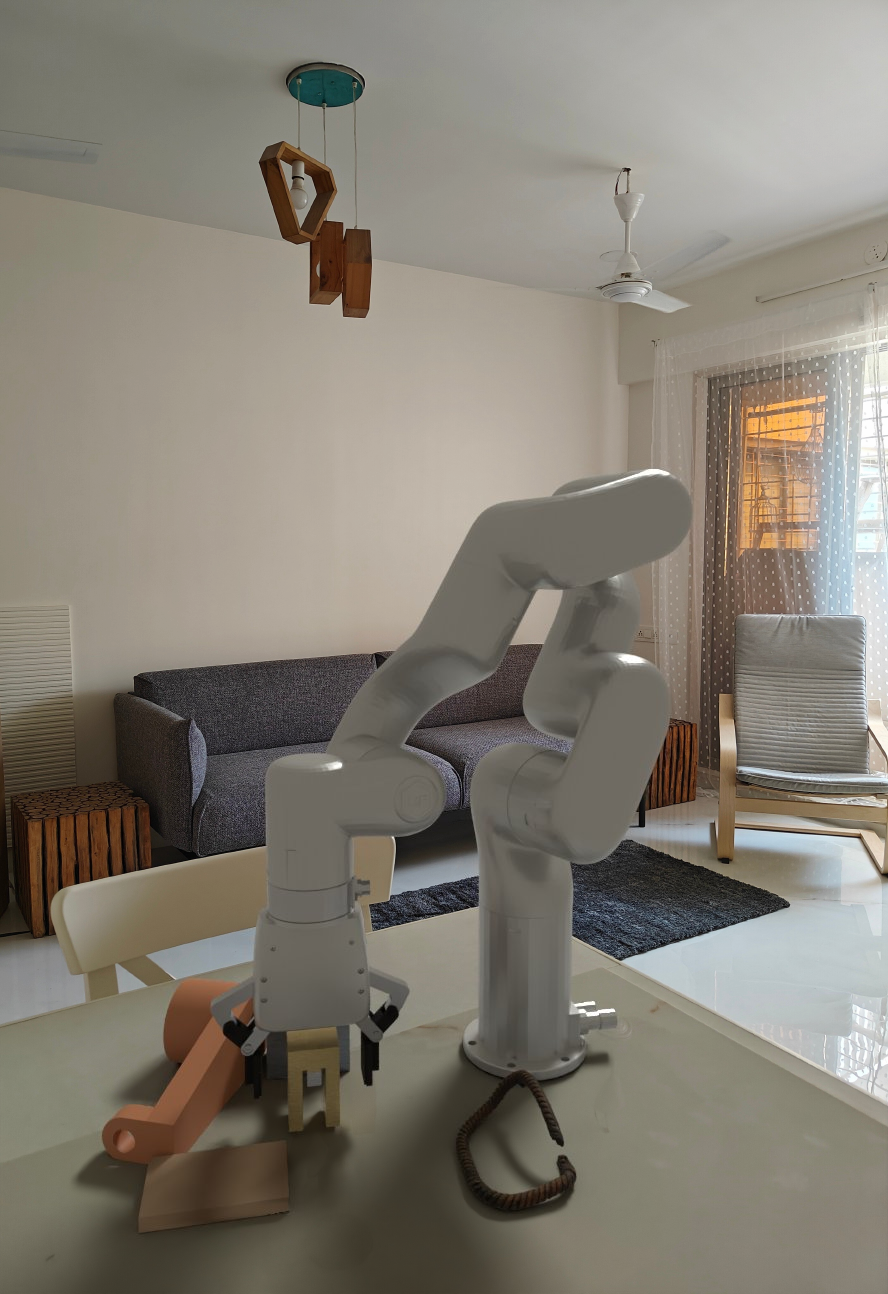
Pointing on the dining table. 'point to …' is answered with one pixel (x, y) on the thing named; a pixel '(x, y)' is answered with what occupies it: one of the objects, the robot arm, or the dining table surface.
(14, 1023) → the dining table surface
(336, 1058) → the yellow arch block
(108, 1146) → the crank
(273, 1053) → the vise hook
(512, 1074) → the brown twisted loop
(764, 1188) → the dining table surface
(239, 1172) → the board
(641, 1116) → the dining table surface
